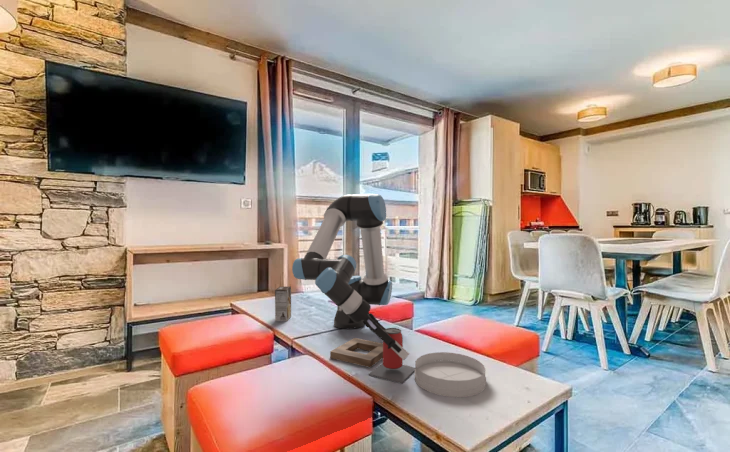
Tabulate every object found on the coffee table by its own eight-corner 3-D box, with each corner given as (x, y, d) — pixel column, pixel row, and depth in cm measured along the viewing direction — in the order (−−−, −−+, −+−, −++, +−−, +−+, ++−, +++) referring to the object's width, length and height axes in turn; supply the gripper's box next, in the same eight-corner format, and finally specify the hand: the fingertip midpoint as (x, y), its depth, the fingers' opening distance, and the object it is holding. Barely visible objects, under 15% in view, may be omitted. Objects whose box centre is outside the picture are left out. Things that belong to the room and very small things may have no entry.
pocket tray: (354, 343, 146) (354, 337, 146) (391, 351, 137) (391, 345, 137) (330, 357, 131) (330, 351, 131) (370, 367, 123) (370, 360, 123)
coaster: (385, 362, 127) (385, 361, 127) (416, 369, 121) (416, 367, 121) (368, 375, 117) (368, 373, 117) (401, 383, 111) (401, 382, 111)
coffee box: (279, 316, 188) (279, 286, 187) (291, 316, 188) (291, 286, 187) (274, 321, 179) (274, 289, 178) (287, 321, 178) (287, 289, 178)
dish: (400, 374, 118) (400, 359, 117) (451, 361, 128) (451, 347, 128) (446, 405, 98) (446, 387, 98) (501, 387, 109) (501, 370, 109)
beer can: (401, 370, 115) (401, 334, 115) (381, 369, 116) (381, 332, 116) (403, 362, 121) (403, 327, 121) (384, 361, 123) (384, 326, 122)
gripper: (343, 307, 126) (388, 350, 129) (350, 323, 106) (403, 373, 109) (358, 292, 126) (402, 334, 129) (368, 305, 107) (420, 355, 110)
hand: (403, 352), depth 119 cm, fingers closed on beer can, 7 cm apart
